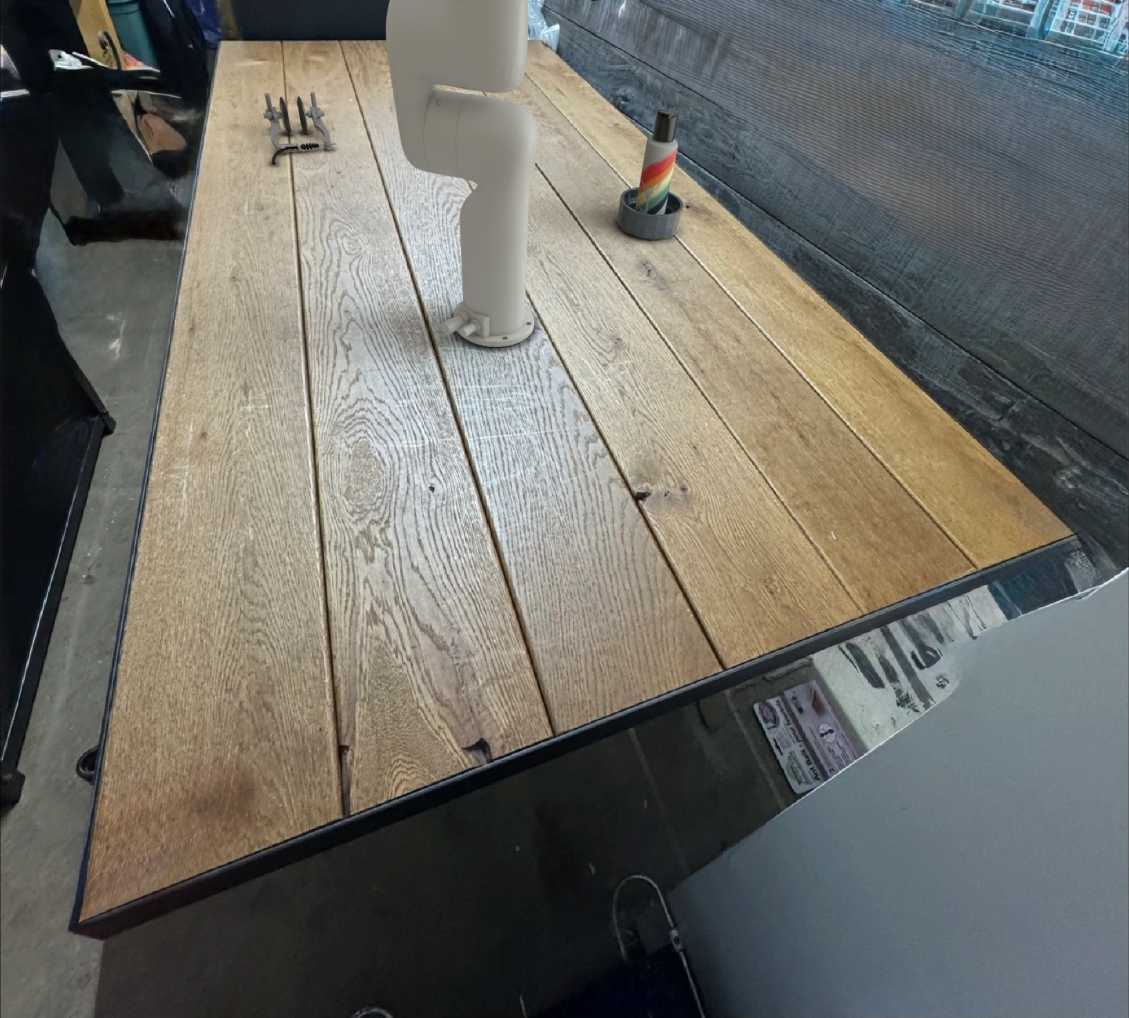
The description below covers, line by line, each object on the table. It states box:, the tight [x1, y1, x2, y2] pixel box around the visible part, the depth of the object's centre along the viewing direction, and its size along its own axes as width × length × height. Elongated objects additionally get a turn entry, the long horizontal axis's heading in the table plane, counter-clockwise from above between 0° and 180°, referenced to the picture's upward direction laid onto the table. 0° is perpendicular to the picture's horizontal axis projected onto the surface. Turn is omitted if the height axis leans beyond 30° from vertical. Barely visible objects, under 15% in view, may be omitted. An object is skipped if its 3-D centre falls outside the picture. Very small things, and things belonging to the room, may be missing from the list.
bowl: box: [616, 186, 684, 241], centre depth 127 cm, size 12×12×5 cm
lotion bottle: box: [635, 109, 679, 215], centre depth 121 cm, size 6×6×20 cm
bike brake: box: [262, 91, 337, 166], centre depth 139 cm, size 14×7×20 cm
